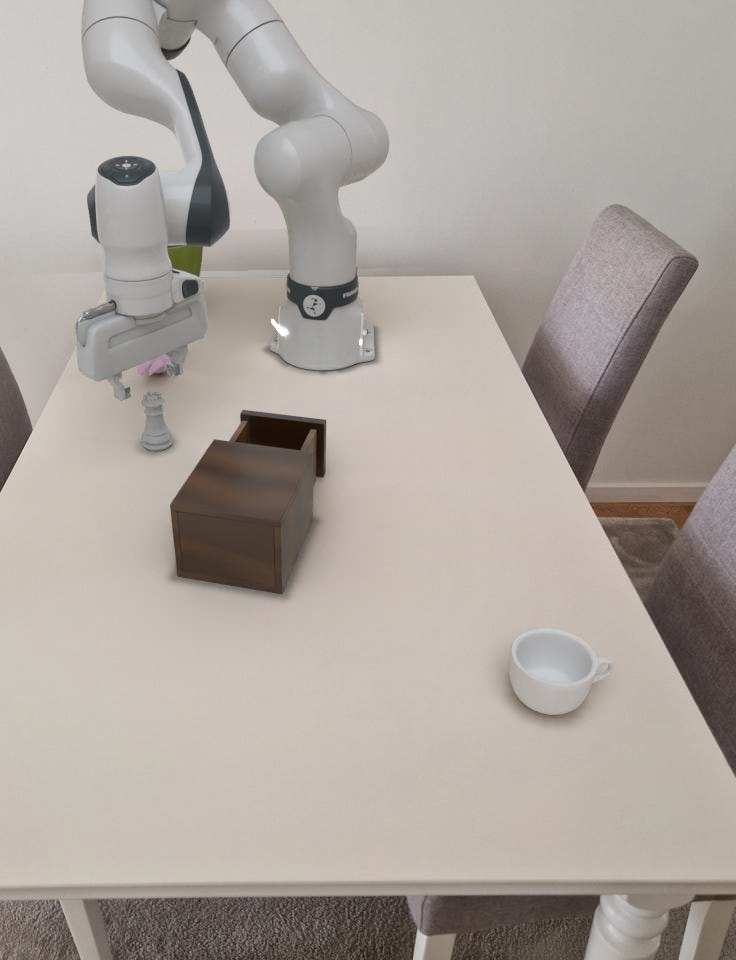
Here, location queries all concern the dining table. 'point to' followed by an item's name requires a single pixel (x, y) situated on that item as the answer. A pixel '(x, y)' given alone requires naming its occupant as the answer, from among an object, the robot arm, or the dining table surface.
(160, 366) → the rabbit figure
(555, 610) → the dining table surface
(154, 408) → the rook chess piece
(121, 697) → the dining table surface
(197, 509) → the cabinet
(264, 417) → the drawer
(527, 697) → the teacup
